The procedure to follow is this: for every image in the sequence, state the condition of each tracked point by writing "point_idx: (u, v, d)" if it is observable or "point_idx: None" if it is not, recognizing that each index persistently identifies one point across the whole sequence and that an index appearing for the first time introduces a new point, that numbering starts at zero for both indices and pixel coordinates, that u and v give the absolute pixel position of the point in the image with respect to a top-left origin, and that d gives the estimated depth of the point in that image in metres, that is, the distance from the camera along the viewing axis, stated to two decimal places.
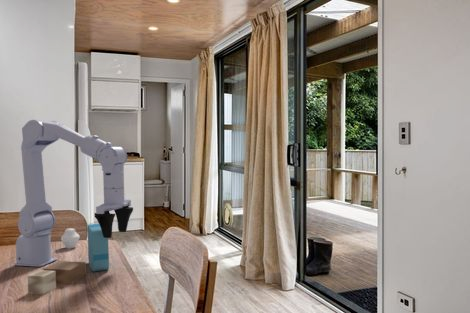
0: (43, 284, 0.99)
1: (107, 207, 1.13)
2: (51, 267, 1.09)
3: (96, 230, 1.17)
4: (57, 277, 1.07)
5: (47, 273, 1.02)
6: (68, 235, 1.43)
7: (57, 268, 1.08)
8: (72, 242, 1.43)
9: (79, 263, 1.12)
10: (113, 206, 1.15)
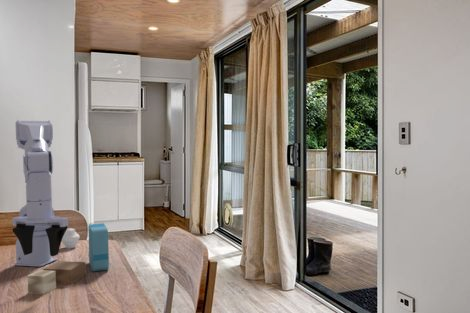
0: (43, 284, 0.99)
1: (17, 220, 1.01)
2: (51, 267, 1.09)
3: (96, 230, 1.17)
4: (58, 277, 1.07)
5: (47, 273, 1.02)
6: (68, 235, 1.43)
7: (57, 268, 1.08)
8: (72, 242, 1.43)
9: (79, 263, 1.12)
10: (22, 220, 1.00)
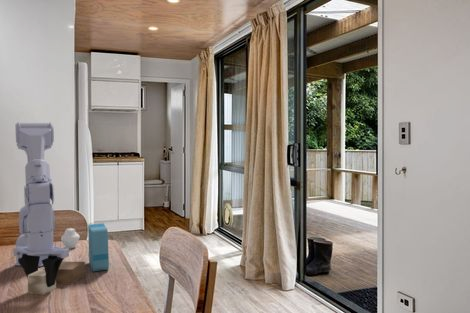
0: (43, 284, 0.99)
1: (18, 250, 1.02)
2: None
3: (96, 230, 1.17)
4: (58, 277, 1.07)
5: None
6: (68, 235, 1.43)
7: None
8: (72, 242, 1.43)
9: (79, 263, 1.13)
10: (23, 251, 1.01)
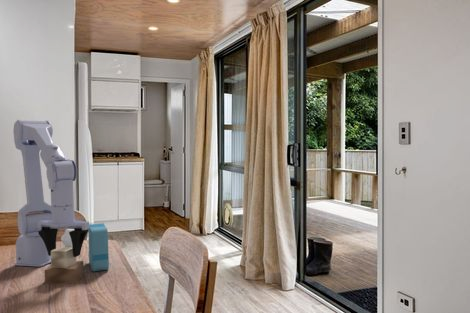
0: (65, 258, 1.08)
1: (43, 223, 1.10)
2: (53, 268, 1.08)
3: (96, 230, 1.17)
4: (61, 277, 1.07)
5: (69, 248, 1.10)
6: (68, 235, 1.43)
7: (60, 268, 1.08)
8: None
9: (78, 262, 1.13)
10: (47, 224, 1.09)
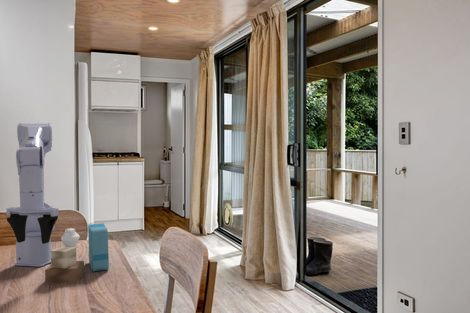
0: (65, 258, 1.08)
1: (11, 210, 1.09)
2: (53, 268, 1.08)
3: (96, 230, 1.17)
4: (62, 277, 1.08)
5: (69, 249, 1.10)
6: (68, 235, 1.43)
7: (60, 268, 1.08)
8: (72, 242, 1.43)
9: (79, 262, 1.13)
10: (15, 210, 1.08)
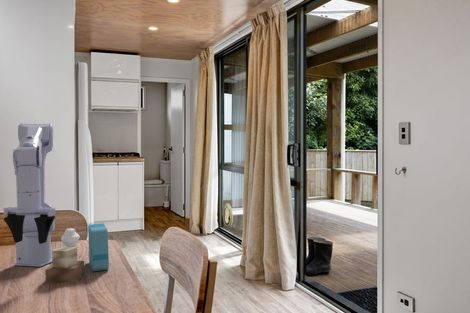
0: (66, 258, 1.08)
1: (8, 210, 1.09)
2: (54, 268, 1.08)
3: (96, 230, 1.17)
4: (62, 276, 1.08)
5: (70, 248, 1.11)
6: (68, 235, 1.43)
7: None
8: (72, 242, 1.43)
9: (79, 262, 1.14)
10: (12, 210, 1.08)
